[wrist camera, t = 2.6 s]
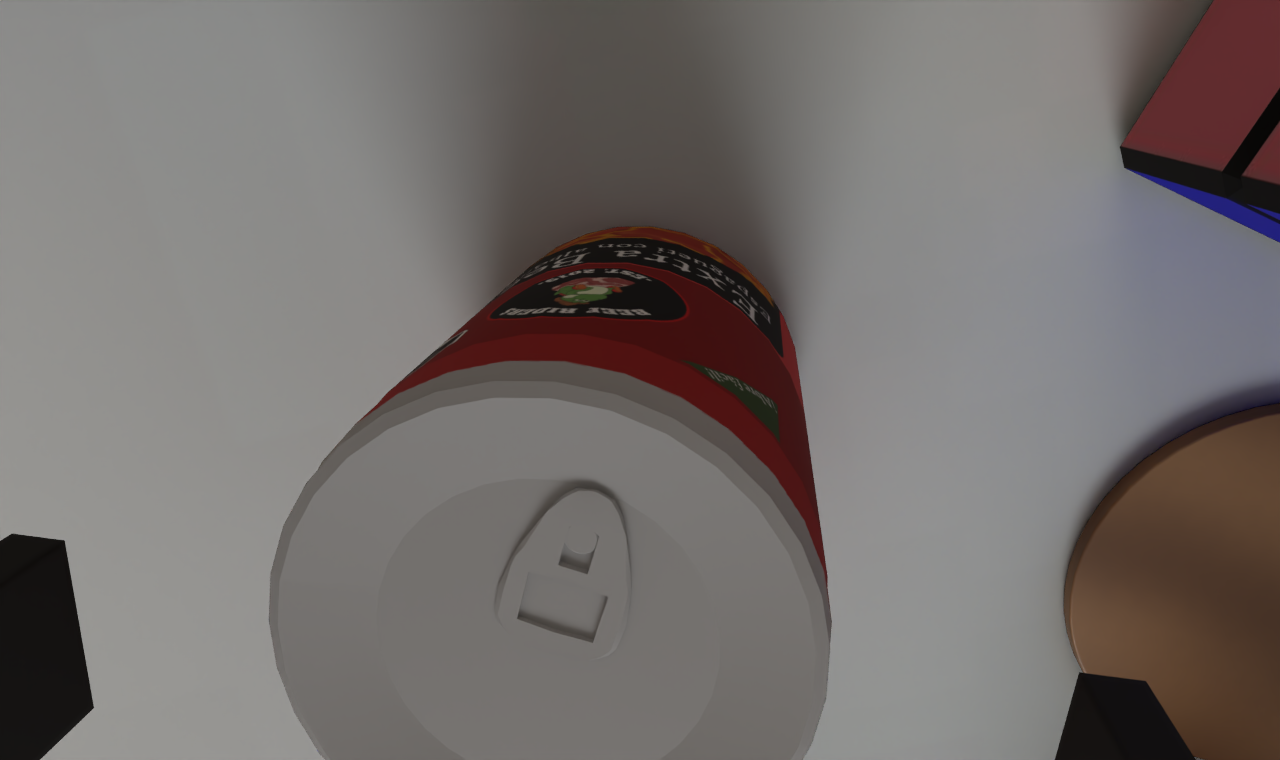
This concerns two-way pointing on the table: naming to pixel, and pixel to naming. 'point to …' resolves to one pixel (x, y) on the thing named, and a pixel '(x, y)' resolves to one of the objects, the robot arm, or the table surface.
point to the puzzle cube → (1219, 117)
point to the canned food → (570, 530)
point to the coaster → (1191, 585)
